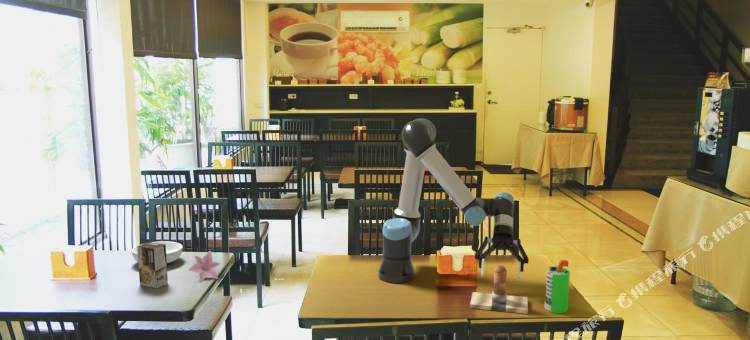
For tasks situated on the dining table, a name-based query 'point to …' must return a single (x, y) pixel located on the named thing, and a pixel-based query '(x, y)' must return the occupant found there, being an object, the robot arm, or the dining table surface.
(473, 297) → the subfloor panel
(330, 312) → the dining table surface
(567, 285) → the green lighter
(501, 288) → the brown rounded cylinder
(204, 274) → the lily
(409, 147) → the robot arm
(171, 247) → the serving bowl
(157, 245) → the coffee box
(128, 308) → the dining table surface
